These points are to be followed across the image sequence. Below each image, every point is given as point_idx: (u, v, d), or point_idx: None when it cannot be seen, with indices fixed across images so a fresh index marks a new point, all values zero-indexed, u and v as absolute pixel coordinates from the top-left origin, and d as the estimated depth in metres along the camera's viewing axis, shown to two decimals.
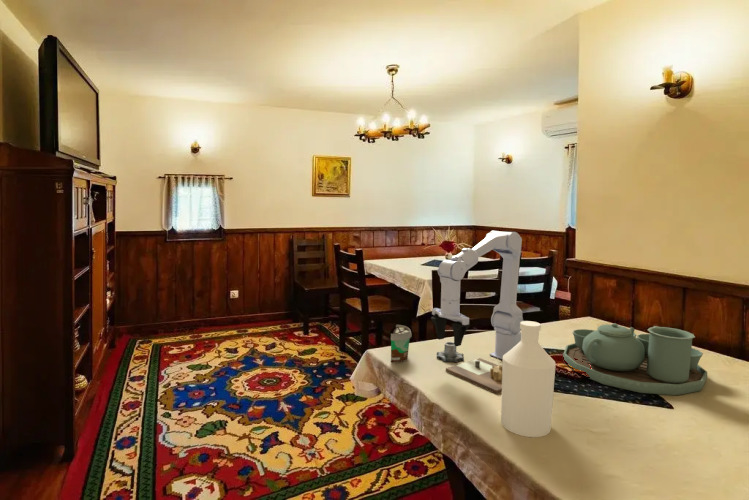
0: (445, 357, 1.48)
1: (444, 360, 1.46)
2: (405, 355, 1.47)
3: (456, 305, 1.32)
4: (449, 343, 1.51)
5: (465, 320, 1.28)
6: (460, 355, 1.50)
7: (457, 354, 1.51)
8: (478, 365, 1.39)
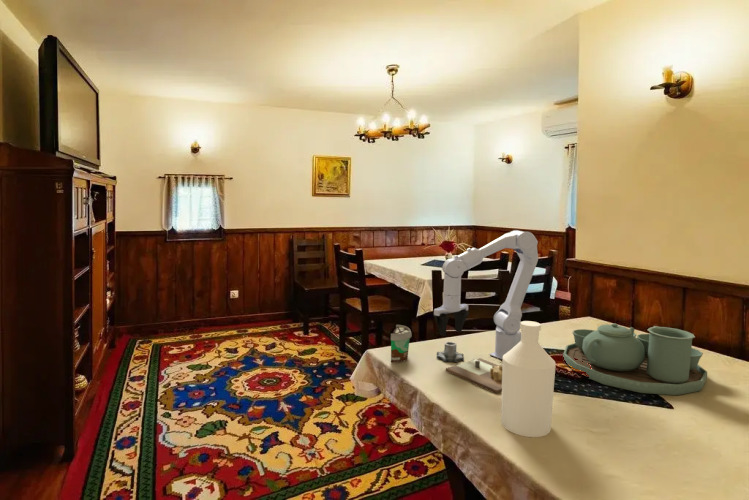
0: (445, 357, 1.48)
1: (444, 360, 1.46)
2: (405, 355, 1.47)
3: (445, 298, 1.47)
4: (449, 343, 1.51)
5: (434, 310, 1.45)
6: (460, 355, 1.50)
7: (457, 354, 1.51)
8: (478, 365, 1.39)
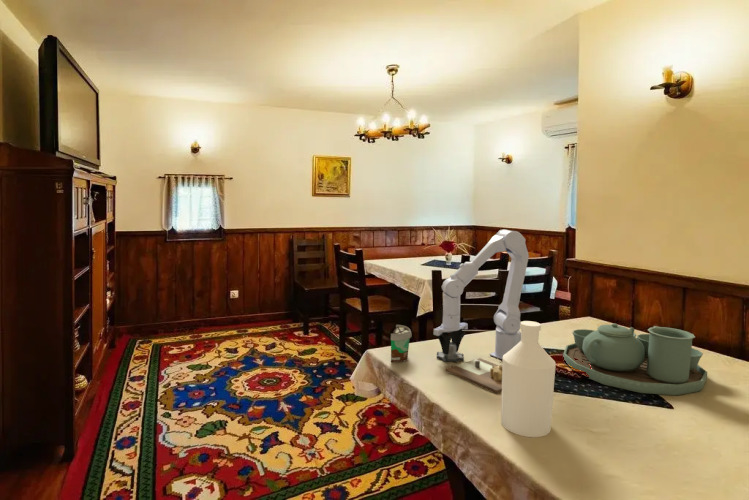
0: (445, 357, 1.48)
1: (444, 360, 1.46)
2: (405, 355, 1.47)
3: (444, 318, 1.48)
4: None
5: (434, 330, 1.46)
6: (460, 355, 1.50)
7: (457, 354, 1.51)
8: (478, 365, 1.39)
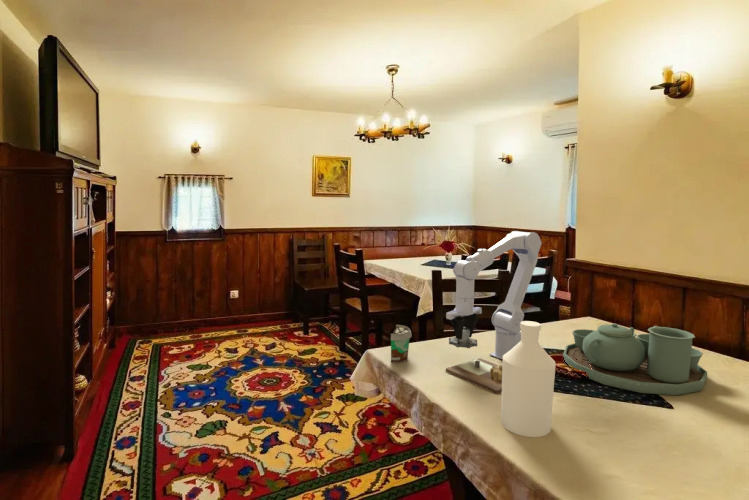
0: (458, 342, 1.42)
1: (457, 345, 1.41)
2: (405, 355, 1.47)
3: (458, 302, 1.41)
4: None
5: (447, 314, 1.40)
6: (473, 341, 1.44)
7: (470, 340, 1.45)
8: (478, 365, 1.39)
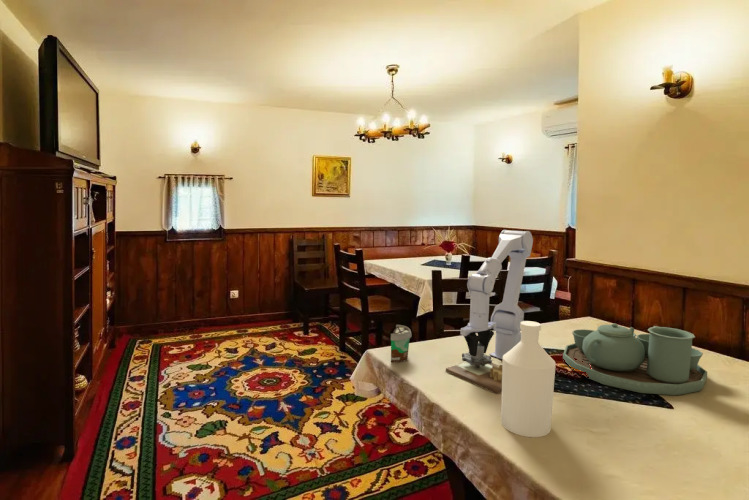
0: (472, 359, 1.37)
1: (471, 363, 1.35)
2: (405, 355, 1.47)
3: (472, 317, 1.36)
4: None
5: (461, 330, 1.34)
6: (488, 358, 1.39)
7: (484, 356, 1.40)
8: (478, 365, 1.39)
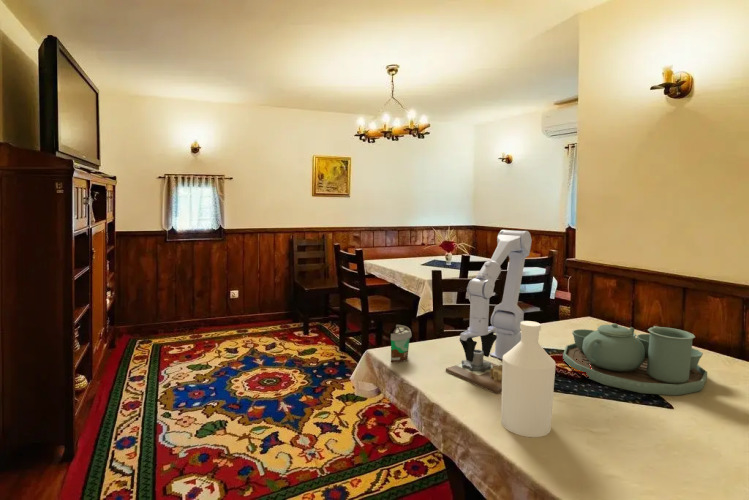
0: (471, 366, 1.37)
1: (471, 369, 1.36)
2: (405, 355, 1.47)
3: (472, 321, 1.36)
4: (475, 351, 1.41)
5: (461, 335, 1.34)
6: (487, 364, 1.39)
7: (484, 363, 1.40)
8: None
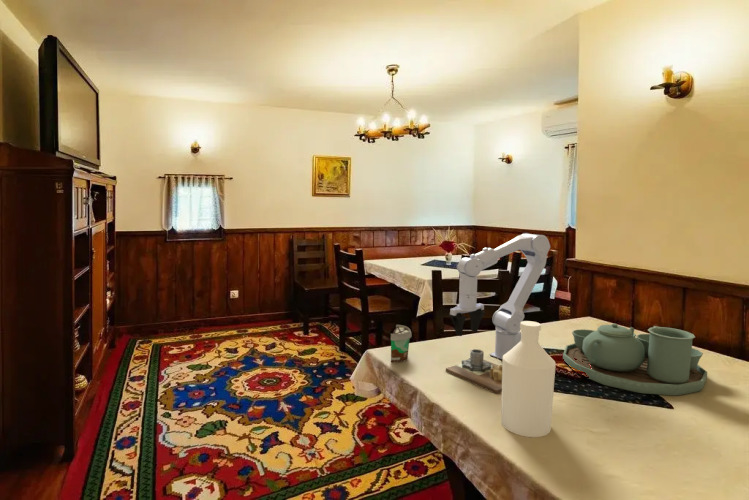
0: (471, 366, 1.37)
1: (471, 369, 1.36)
2: (405, 355, 1.47)
3: (461, 298, 1.44)
4: (475, 351, 1.41)
5: (451, 310, 1.43)
6: (487, 364, 1.39)
7: (484, 363, 1.40)
8: None
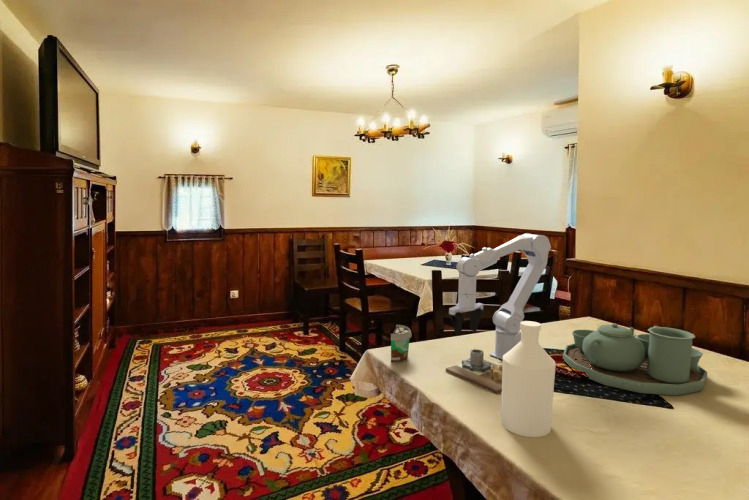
0: (471, 366, 1.37)
1: (471, 369, 1.36)
2: (405, 355, 1.47)
3: (460, 297, 1.45)
4: (475, 351, 1.41)
5: (450, 310, 1.43)
6: (487, 364, 1.39)
7: (484, 363, 1.40)
8: None
